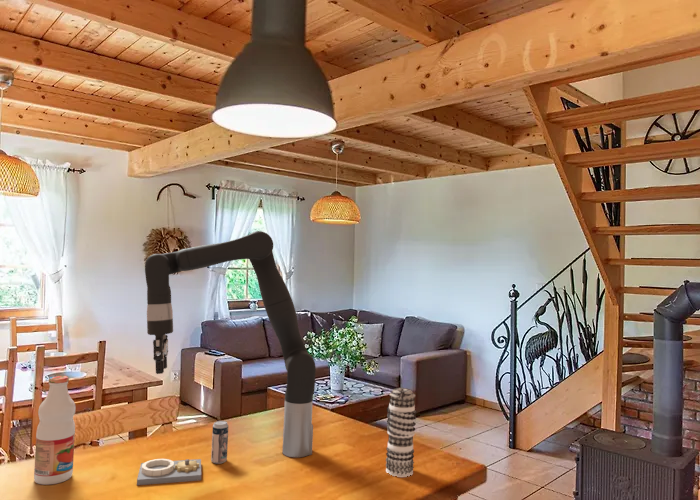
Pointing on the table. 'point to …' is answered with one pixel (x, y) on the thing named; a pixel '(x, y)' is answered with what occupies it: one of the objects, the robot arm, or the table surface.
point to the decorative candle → (400, 432)
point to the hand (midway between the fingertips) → (161, 370)
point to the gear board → (167, 477)
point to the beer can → (219, 442)
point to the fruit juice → (55, 435)
